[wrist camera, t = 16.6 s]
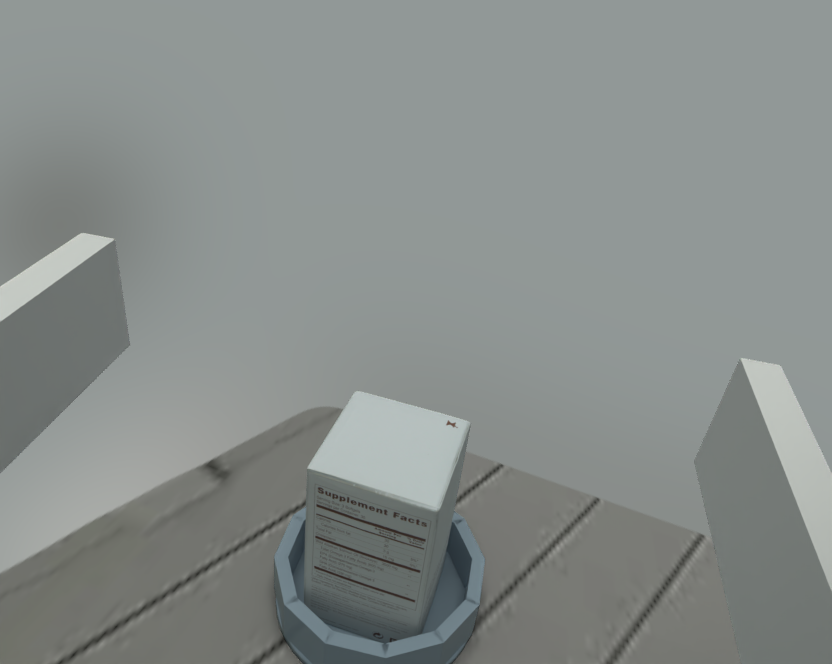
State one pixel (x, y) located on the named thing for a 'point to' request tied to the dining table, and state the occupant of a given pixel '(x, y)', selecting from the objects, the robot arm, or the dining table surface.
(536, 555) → the dining table surface
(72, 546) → the dining table surface
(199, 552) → the dining table surface
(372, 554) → the supplement box
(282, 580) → the bowl
